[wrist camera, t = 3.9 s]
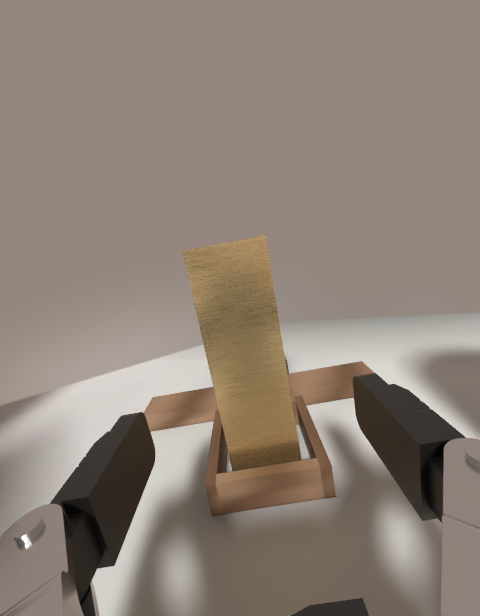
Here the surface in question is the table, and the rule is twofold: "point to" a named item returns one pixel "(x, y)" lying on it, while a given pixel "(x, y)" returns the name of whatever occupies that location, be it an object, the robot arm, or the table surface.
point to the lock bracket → (268, 479)
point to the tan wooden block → (244, 350)
